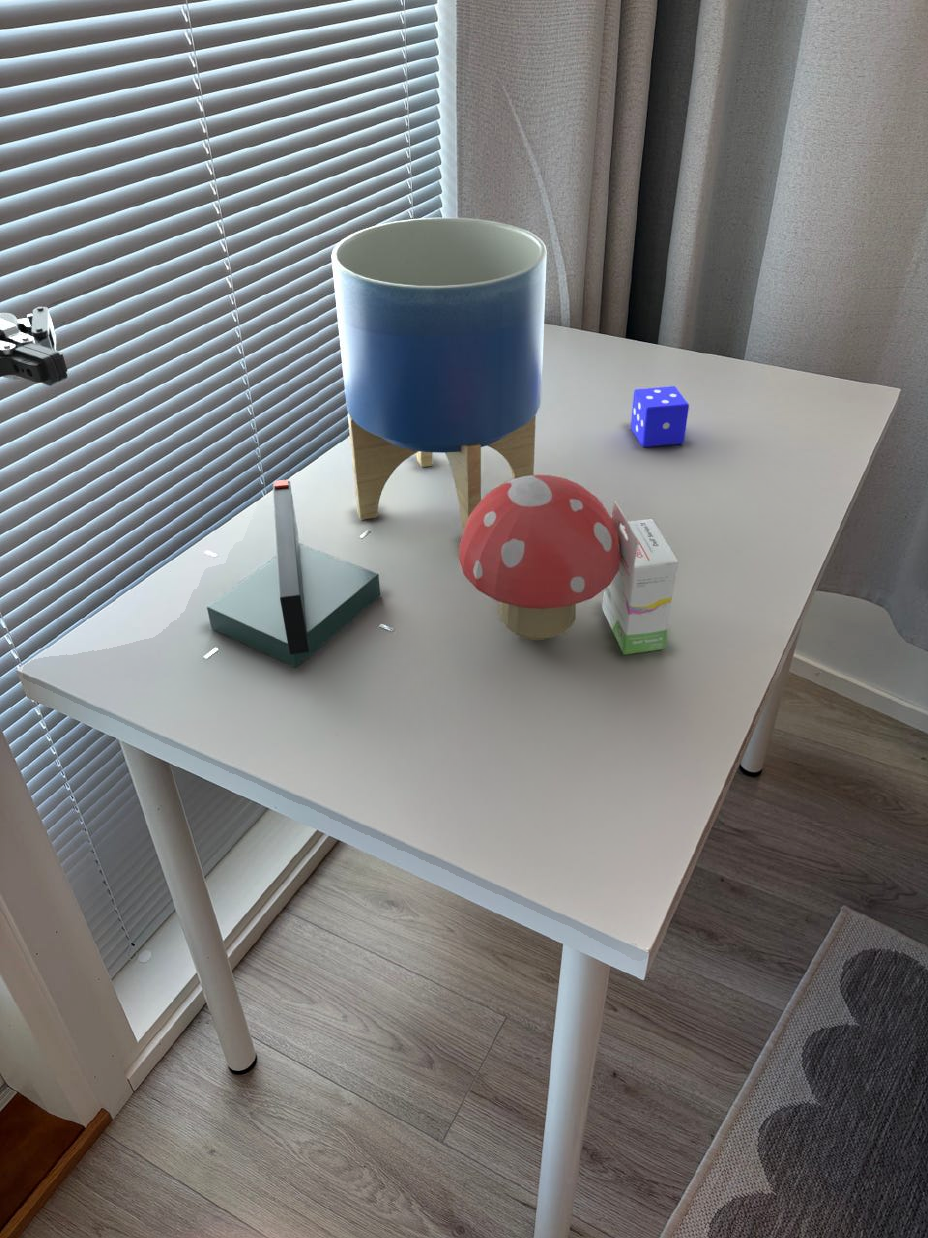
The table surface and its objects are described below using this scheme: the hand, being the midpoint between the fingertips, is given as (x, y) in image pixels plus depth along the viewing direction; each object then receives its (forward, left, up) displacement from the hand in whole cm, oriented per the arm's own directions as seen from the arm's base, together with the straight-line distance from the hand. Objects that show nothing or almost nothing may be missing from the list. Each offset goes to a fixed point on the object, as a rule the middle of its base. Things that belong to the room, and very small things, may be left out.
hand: (57, 369), depth 72 cm
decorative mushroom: (+17, -33, -24) cm, 44 cm away
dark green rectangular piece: (+8, -13, -24) cm, 28 cm away
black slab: (+8, -13, -21) cm, 26 cm away
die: (+56, -27, -24) cm, 67 cm away
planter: (+31, -14, -24) cm, 42 cm away
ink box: (+22, -40, -24) cm, 52 cm away
